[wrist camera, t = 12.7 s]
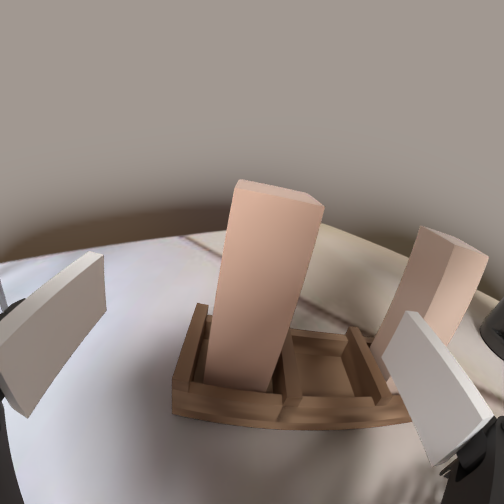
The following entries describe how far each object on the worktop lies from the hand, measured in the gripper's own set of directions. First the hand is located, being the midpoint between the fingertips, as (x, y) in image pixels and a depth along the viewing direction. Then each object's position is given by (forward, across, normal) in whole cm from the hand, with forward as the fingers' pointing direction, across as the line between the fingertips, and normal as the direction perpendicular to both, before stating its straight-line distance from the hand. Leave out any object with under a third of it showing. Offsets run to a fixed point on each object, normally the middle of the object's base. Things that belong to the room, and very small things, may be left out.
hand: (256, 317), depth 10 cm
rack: (+6, +7, -11) cm, 15 cm away
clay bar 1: (+6, 0, -10) cm, 12 cm away
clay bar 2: (+7, +14, -10) cm, 19 cm away
